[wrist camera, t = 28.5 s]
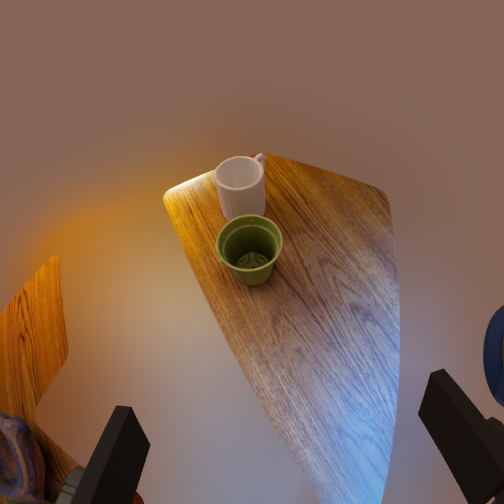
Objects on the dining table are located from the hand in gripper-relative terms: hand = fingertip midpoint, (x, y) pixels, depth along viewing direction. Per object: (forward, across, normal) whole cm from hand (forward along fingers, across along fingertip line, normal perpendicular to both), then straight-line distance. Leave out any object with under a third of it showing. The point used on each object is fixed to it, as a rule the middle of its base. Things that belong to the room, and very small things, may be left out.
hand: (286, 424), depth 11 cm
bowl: (+12, -47, -31) cm, 58 cm away
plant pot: (+38, -2, -6) cm, 39 cm away
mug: (+48, -1, +5) cm, 48 cm away
